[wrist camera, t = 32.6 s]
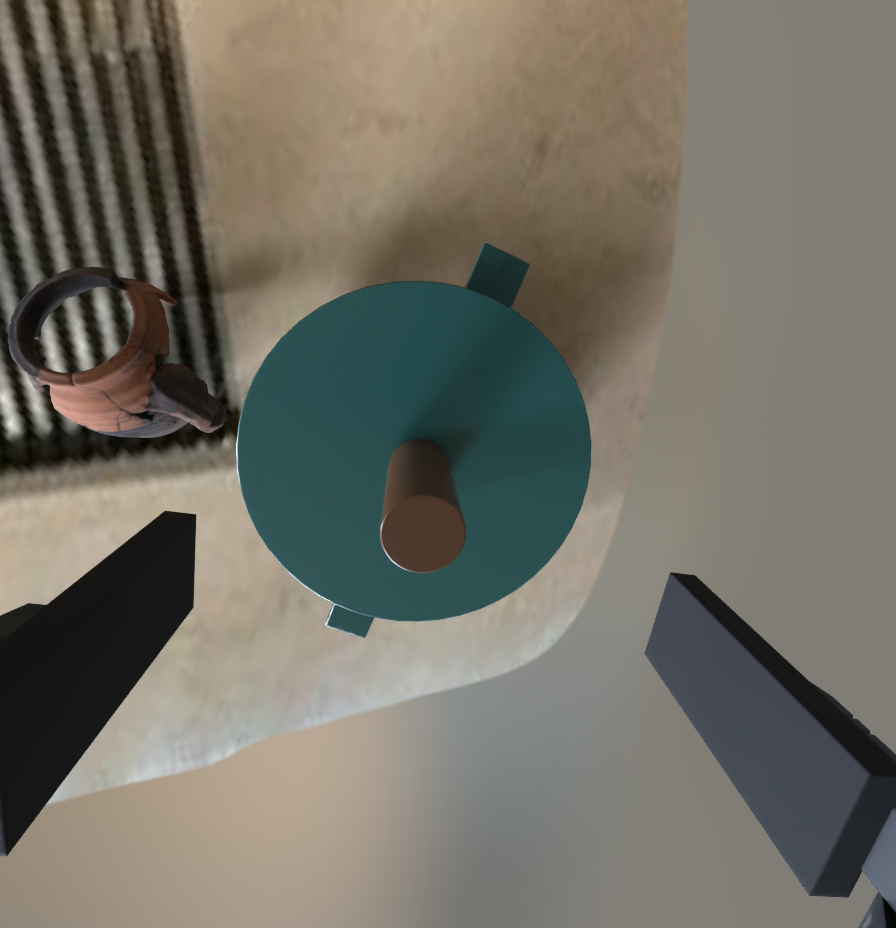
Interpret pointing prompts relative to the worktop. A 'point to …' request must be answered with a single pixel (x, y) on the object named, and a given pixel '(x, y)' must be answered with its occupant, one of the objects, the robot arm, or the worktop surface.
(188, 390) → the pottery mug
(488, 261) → the pot
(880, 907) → the robot arm
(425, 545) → the lid
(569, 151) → the worktop surface
